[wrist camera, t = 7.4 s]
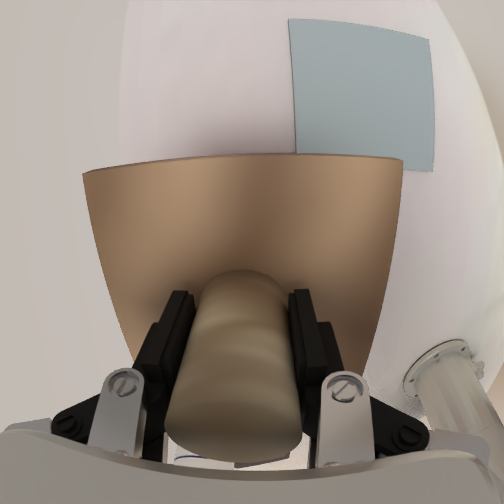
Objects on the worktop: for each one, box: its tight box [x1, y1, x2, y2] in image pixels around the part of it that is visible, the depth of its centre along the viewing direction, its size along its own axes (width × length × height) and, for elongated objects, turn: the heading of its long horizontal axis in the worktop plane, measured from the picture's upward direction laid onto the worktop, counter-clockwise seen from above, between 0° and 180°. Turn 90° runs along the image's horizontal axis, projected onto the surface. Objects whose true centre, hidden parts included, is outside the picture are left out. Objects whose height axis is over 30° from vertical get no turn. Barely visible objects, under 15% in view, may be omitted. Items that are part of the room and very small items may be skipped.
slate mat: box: [288, 19, 435, 172], centre depth 21 cm, size 14×14×1 cm
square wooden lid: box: [82, 153, 403, 463], centre depth 9 cm, size 12×12×7 cm
